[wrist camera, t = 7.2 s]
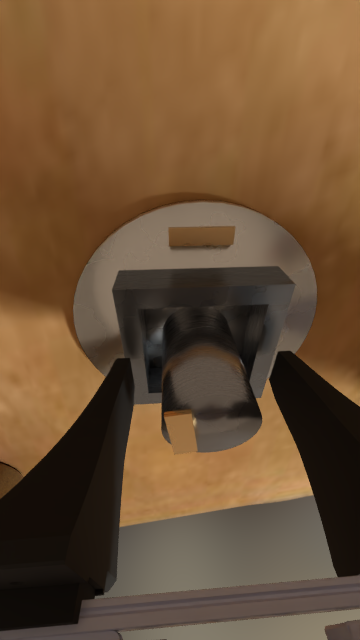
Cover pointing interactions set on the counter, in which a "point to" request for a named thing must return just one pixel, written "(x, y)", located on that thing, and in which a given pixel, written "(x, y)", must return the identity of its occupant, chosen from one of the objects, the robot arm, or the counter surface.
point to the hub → (194, 288)
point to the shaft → (204, 384)
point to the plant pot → (8, 479)
